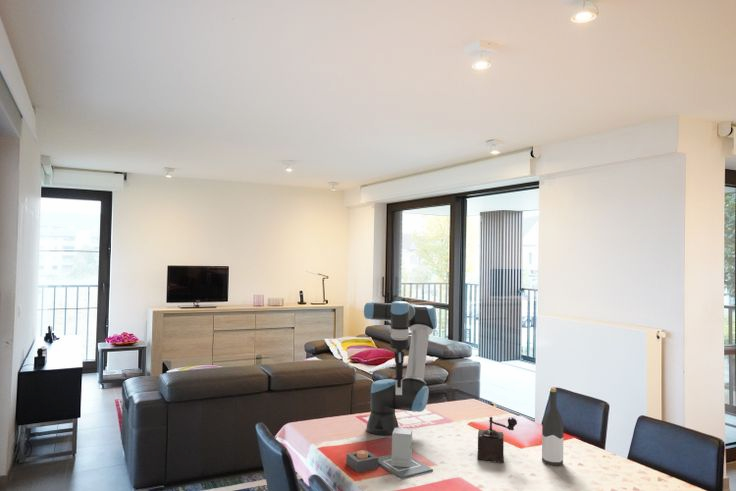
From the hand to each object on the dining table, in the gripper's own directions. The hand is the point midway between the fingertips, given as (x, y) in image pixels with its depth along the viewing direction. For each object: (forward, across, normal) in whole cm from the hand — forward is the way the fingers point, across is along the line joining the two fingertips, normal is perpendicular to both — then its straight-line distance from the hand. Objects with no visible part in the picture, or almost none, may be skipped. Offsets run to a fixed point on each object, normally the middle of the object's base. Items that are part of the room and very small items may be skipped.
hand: (398, 394), depth 218 cm
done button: (+22, +17, -15) cm, 31 cm away
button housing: (+23, +17, -15) cm, 32 cm away
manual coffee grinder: (+24, +5, +40) cm, 47 cm away
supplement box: (+23, +15, +1) cm, 27 cm away
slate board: (+24, +15, +1) cm, 28 cm away
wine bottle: (+25, +8, +62) cm, 67 cm away
